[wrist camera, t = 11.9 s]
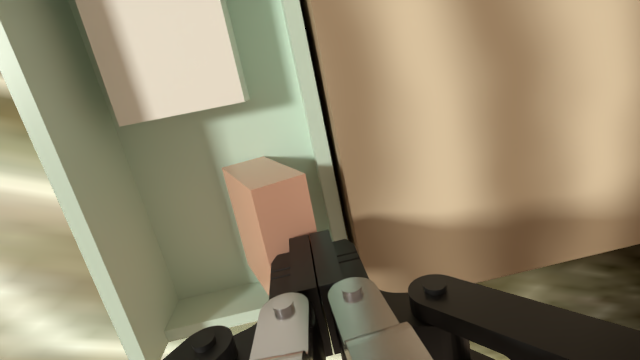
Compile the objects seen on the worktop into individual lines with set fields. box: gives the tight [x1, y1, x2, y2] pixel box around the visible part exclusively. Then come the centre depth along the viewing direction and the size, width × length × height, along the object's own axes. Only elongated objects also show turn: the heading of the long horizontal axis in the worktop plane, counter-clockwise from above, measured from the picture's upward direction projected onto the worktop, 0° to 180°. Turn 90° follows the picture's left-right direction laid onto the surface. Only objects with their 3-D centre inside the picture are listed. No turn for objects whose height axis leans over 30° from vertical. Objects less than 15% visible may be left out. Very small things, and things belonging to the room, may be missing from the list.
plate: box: [301, 0, 640, 293], centre depth 16 cm, size 14×16×4 cm
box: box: [0, 0, 347, 360], centre depth 15 cm, size 10×16×5 cm, turn 12°
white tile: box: [75, 0, 249, 127], centre depth 14 cm, size 5×5×2 cm
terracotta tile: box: [222, 156, 317, 296], centre depth 15 cm, size 5×5×2 cm
